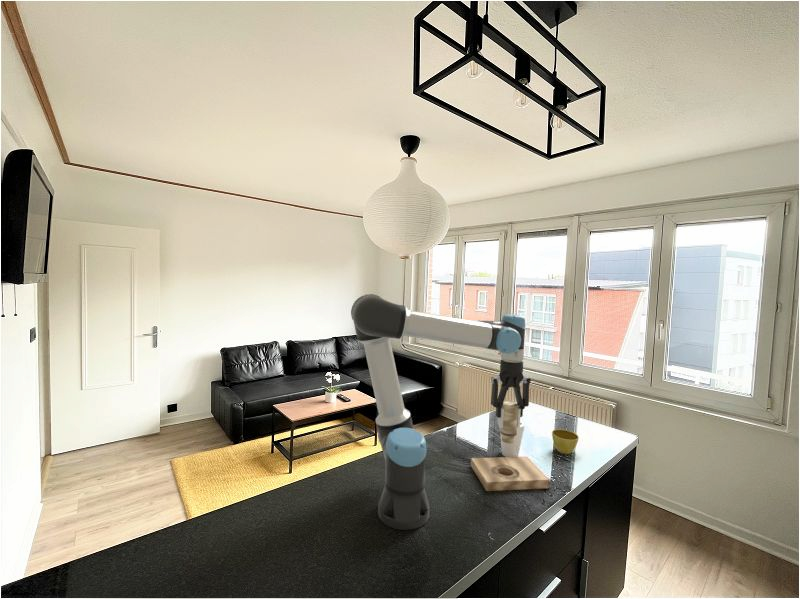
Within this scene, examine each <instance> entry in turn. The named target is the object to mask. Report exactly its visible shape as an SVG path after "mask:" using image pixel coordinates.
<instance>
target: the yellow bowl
mask: <svg viewBox="0 0 800 599" xmlns="http://www.w3.org/2000/svg"><path fill="white" fill-rule="evenodd" d="M551 438H552V441H553V444H554V447H555V449H556V450H557V452H559V453H561V454H564V455H570V454H571V453H572V452H573V451H574V450H575V449H576V447H577V444H578V442H579V438H580V437H579V435H578V434H577V433H575V432H574V431H570V430H567V429H560V428H559V429H553V430H552V431H551Z"/></svg>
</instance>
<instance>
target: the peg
mask: <svg viewBox="0 0 800 599" xmlns="http://www.w3.org/2000/svg"><path fill="white" fill-rule="evenodd" d="M502 408H503V409H504V417H503V428H500V427H499V431H500V433H501V434H502V441H503V442H505V443H514V436H516V435H517V415H518V404H517V402H513V401H507V400H506V401H504V402H503V405H502ZM500 433H499V434H500Z"/></svg>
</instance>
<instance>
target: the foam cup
mask: <svg viewBox="0 0 800 599" xmlns="http://www.w3.org/2000/svg"><path fill="white" fill-rule="evenodd" d="M524 431H525V423H524V422H523V421H522V420H520V427H519V428H518V427H517V435H516V436H514V443H505V442H503V441H502V434H501V433H499V435H500V444H501V445H500V446H501V455H502V456H503V457H519V454H520V449H521V445H522V440H523V434H524Z"/></svg>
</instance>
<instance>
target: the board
mask: <svg viewBox="0 0 800 599" xmlns="http://www.w3.org/2000/svg"><path fill="white" fill-rule="evenodd" d="M470 467H471V468H472V470H473V472H474V473H475V475H476V476H477V478H478V479H479V481H480V483H481V484H482V486H483V488H484V489H485V491H486V492H493V491H494V492H495V491H514V490H515V491H516V490H520V491H521V490H537V489H539V490H540V489H549V488H550V478H548V476H547V475H546V474H544V472H543V471H542V470H540V468H539V467H538V466H537V465H536V464H535V463H534V462H533V461H532V460H531V458H529V457H528V456H525V455H524V456H518V457H506V456H501V457H500V456H498V457H472V458H470Z"/></svg>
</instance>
